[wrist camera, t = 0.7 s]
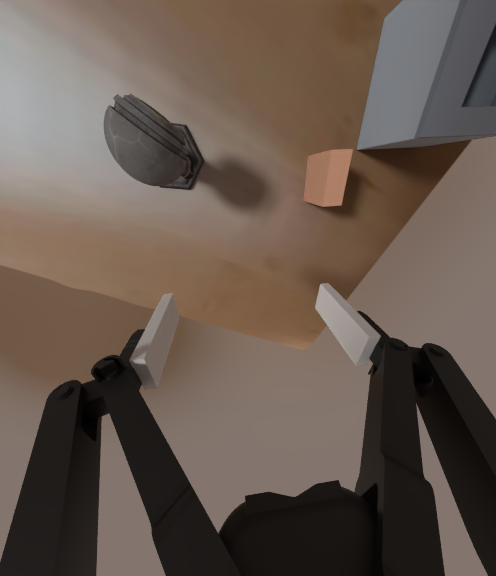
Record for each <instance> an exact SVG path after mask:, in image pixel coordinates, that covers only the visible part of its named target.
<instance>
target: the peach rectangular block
mask: <svg viewBox="0 0 496 576" xmlns="http://www.w3.org/2000/svg"><path fill="white" fill-rule="evenodd" d="M352 151H353V149H342V150H329V151H325V152H321V153H317V154H313V155H309V156H308V163H307V173H306V183H305V192H304V201H306V202H309V203H312V204H315V205H319V206H322V207H327V206H342V201H343V196H344V191H345V186H346V181H347V176H348V171H349V166H350V161H351V156H352Z"/></svg>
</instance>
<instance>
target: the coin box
mask: <svg viewBox="0 0 496 576" xmlns="http://www.w3.org/2000/svg"><path fill="white" fill-rule="evenodd" d="M492 136H496V0H403V1H402V2H401V3H400V4H399V5H398V6H396V7H395V8H394V9H393V10H392V11H391V12H390V13H389V14H388V15H387V16H386V17H385V19H384V23H383V28H382V33H381V37H380V42H379V47H378V52H377V56H376V61H375V66H374V70H373V75H372V80H371V85H370V89H369V94H368V99H367V103H366V108H365V113H364V118H363V122H362V127H361V132H360V136H359V141H358V146H357V150H366V149H389V148H411V147H425V146H432V145H438V144H445V143H452V142H459V141H465V140H472V139H479V138H485V137H492Z"/></svg>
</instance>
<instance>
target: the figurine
mask: <svg viewBox="0 0 496 576" xmlns="http://www.w3.org/2000/svg"><path fill="white" fill-rule="evenodd" d="M113 99H114V100H115V105H114V108H113V107H112V106H110V105H109V106H108V108H107V110H106V113H105V117H104V133H105V138H106V142H107V145H108V147H109V150H110V152H111V154H112V155H113V157H114V159H115V160H116V161H117V163H118V164H119V165H120V166H121V168H122V169H123V170H124V171H125V172H127V173H128V174H129V175H130V176H132V177H133V178H134V179H136V180H138V181H140V182H142V183H144V184H148V185H152V186H160V187H163V188H175V189H186V190H191V188H192V185H193V183H194V181H195V179H196V177H197V175H198V173H199V171H200V169H201V167H202V165H203V163H204V160H203V158H202V156H201V154H200V152H199V150H198V148H197V146H196V144H195V142H194V140H193V138H192V136H191V134H190V132H189V130H188V128H187V126H186V125H181V124H174V123H170V122H169V121H168V120H167V119H166V118H165V117H164V116H162V115H161V114H160V113H159V112H158V111H156V110H155V109H154V108H152V107H151V106H149V105H148V104H146V103H145V102H143V101H142V100H140V99H138V98H136V97H135V96H133V95H132V94H130V95H128V96H127V95H124V98H122V97H120V96H119V95H116V96H115V97H114V98H113Z"/></svg>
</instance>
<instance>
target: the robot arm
mask: <svg viewBox="0 0 496 576" xmlns="http://www.w3.org/2000/svg"><path fill="white" fill-rule="evenodd" d="M315 308H316V310H317V311H318V313H319V314H320V315H321V317H322V318H323V320H324V321H325V323H326V324H327V325H328V326H329V328H330V330H331V331H332V333H333V334H334V335H335V337H336V338H337V340H338V341H339V343H340V344H341V345H342V347H343V348H344V350H345V351H346V353H347V354H348V355H349V357H350V358H351V359H352V361H353V362H354V364H355V365H356V366H361V365H367V363H368V361H369V359H370V360H371V361H372V363H373V365H372V367H371V369H370V371H369V373H368V374H370V373H371V377H370V385H369V394H368V403H367V413H366V421H365V430H364V439H363V448H362V457H361V467H360V474H359V477H358V480H357V483H356V488H355V492H352V491H351V490H349V489H346V488H343V487H341V486H340V483H339V480H336V481H331V482H324V483H318V484H315V485H314V486H312V487H311V488H309V489H308V490H306V491H304V492H303V493H301V494H300V495H298V496H296V497H290V496H286V495H281V494H277V493H272V492H265V493H259V494H253V495H248V496H245V500H246V503H245V502H244V503H242V504H241V505H239V506H238V507H237V508H236V509H235V510H234V511H233V512H232V513H231V514H230V515H229V516H228V518H227V519H226V521H225V522H224V524H223V526H222V528H221V529H220V531H219V533H217V531H216V529H215V527H214V525H213V524H212V522H211V520H210V518H209V516H208V515H207V513H206V511H205V509H204V507H203V506H202V504H201V502H200V500H199V499H198V497H197V495H196V493H195V491H194V490H193V488H192V486H191V484H190V482H189V480H188V479H187V477H186V475H185V473H184V471H183V470H182V468H181V466H180V464H179V462H178V461H177V459H176V457H175V455H174V454H173V452H172V450H171V448H170V446H169V444H168V443H167V441H166V439H165V437H164V435H163V433H162V432H161V430H160V428H159V426H158V424H157V423H156V421H155V419H154V417H153V415H152V414H151V412H150V410H149V408H148V406H147V405H146V403H145V401H144V399H143V397H142V396H141V394H140V392H139V390H140V387H141V385H142V386H143V388H144V389H154V388H158V384H159V381H160V378H161V375H162V372H163V369H164V365H165V362H166V359H167V356H168V353H169V350H170V347H171V343H172V340H173V337H174V334H175V331H176V328H177V324H178V321H179V315H178V311H177V307H176V304H175V300H174V296H173V294H163V296H162V298H161V300H160V302H159V304H158V306H157V308H156V310H155V312H154V313H153V316H152V317H151V319H150V321H149V323H148V325H147V327H146V329H141V330H137V331H136V332H135V333H134V334H133V335H132V336H131V337H130V339H129V341H128V343H127V344H126V346H125V348H124V349H123V351H122V353H121V354H120V356H118V355H111V356H107V357H105V358H103V359H101V360H100V361H98V362H97V363H96V364H95V365H94V366H93V368H92V370H91V374H92V375H93V377H94V378H95V380H92V381H90V382H87V383H84V384H81V383H80V382H79V381H78V380H71V381H68V382H65V383H63V384H62V385H60V386H58V387H57V388H56V389H54V390H53V391H52V392H51V394H50V395H49V396H48V398H47V401H46V404H45V408H44V411H43V415H42V418H41V422H40V425H39V429H38V432H37V436H36V439H35V443H34V447H33V450H32V453H31V457H30V460H29V464H28V467H27V471H26V474H25V478H24V481H23V485H22V488H21V492H20V495H19V499H18V503H17V506H16V509H15V513H14V516H13V520H12V523H11V527H10V530H9V534H8V537H7V541H6V544H5V548H4V551H3V555H2V559H1V562H0V576H96V564H97V535H98V506H99V478H100V448H101V447H100V446H101V420H102V416H103V415H106V414H108V413H110V416H111V419H112V421H113V424H114V426H115V429H116V432H117V435H118V437H119V440H120V442H121V445H122V448H123V451H124V453H125V456H126V459H127V461H128V464H129V467H130V469H131V472H132V475H133V477H134V480H135V483H136V485H137V488H138V490H139V493H140V496H141V499H142V501H143V504H144V506H145V509H146V512H147V515H148V517H149V520H150V523H151V527H152V537H153V541H154V544H155V547H156V550H157V553H158V555H159V558H160V561H161V564H162V566H163V569H164V572H165V575H166V576H445V573H444V565H443V558H442V550H441V542H440V535H439V527H438V519H437V511H436V504H435V497H434V492H433V488H432V486H431V484H430V483H429V482H428V481H427V480H425V478H424V474H423V466H422V457H421V447H420V437H419V427H418V418H417V408H416V403H417V406H418V408H419V411H420V413H421V416H422V418H423V420H424V423H425V426H426V428H427V431H428V433H429V436H430V438H431V441H432V443H433V446H434V449H435V451H436V454H437V456H438V459H439V461H440V464H441V466H442V469H443V471H444V474H445V476H446V479H447V481H448V484H449V486H450V489H451V491H452V494H453V496H454V499H455V502H456V504H457V507H458V509H459V512H460V514H461V517H462V519H463V522H464V524H465V527H466V529H467V532H468V534H469V536H470V539H471V541H472V543H473V546H474V548H475V550H476V552H477V555H478V556H479V558H480V560H481V562H482V564H483V566H484V568H485V570H486V572H487V574H488V576H496V419H495V417H494V416H493V415H492V413H491V412H490V410H489V409H488V408H487V406H486V405H485V403H484V402H483V400H482V399H481V398H480V396H479V395H478V393H477V392H476V390H475V389H474V387H473V386H472V384H471V383H470V382H469V380H468V379H467V377H466V376H465V374H464V373H463V372H462V370H461V369H460V367H459V366H458V364H457V363H456V361H455V360H454V359H453V357H452V356H451V354H450V353H449V352H448V351H447V350H445V349H444V348H442V347H440V346H438V345H435V344H432V343H426V344H424V345H423V346H422V348H415V347H409V346H408V345H407V344H406V343H404V342H403V341H401V340H399V339H395V338H390V337H389V336H388V335H387V334H386V333H385V332H384V331H383V330H382V329H381V328H380V327H379V326H378V325H376V324H375V322H373V321H372V320H371V319H370V318H369V317H368V316H367V315H366V314H364V313H363V312H361V311H356V310H355V309H354V308H353V307H352V306H350V304H349V303H348V302H347V301H346V300H345V299H344V298H343V297H342V296H341V295H340V294H339V293H338V292H337V291H336V290H335V289H334V288H333V287H332V286H331V285H330V284H329V283H323V284H320V288H319V293H318V297H317V302H316V306H315Z"/></svg>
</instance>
